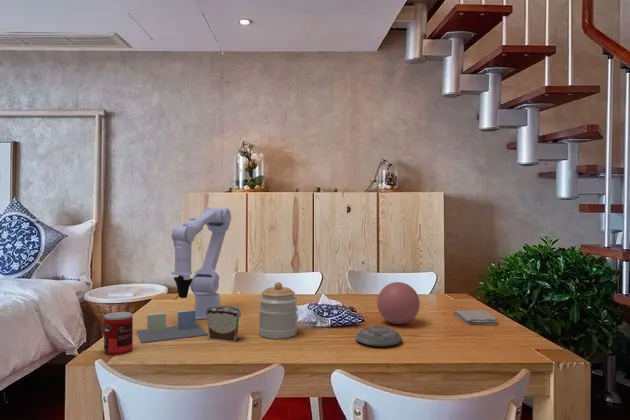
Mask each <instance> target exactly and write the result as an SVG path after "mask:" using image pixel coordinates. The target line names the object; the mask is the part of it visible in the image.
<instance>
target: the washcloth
mask: <svg viewBox="0 0 630 420" xmlns="http://www.w3.org/2000/svg"><path fill="white" fill-rule="evenodd" d="M453 314H454V315H455V316H456V317H457V318H458V319H460V320H461V321H462V322H463V323H465V324H466V325H468V326H498V324H499V323H498V322H497V320H498V319H497V318H496V317H495V315H494V314H491V313H490V312H488V311H487V310H485V309H470V310H467V309H456V310H454V312H453Z"/></svg>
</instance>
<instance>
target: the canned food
mask: <svg viewBox="0 0 630 420" xmlns="http://www.w3.org/2000/svg"><path fill="white" fill-rule="evenodd" d="M133 318H134V317H133V313H132V312H128V311H116V312H110V313H106V314H104V315H103V351H104V353H105V354H106V355H108V356H120V355H125V354H128V353H131V352H132V351H133V345H134V344H133V342H134V341H133V338H134V337H133V327H134V326H133V323H134V322H133V321H134V320H133Z"/></svg>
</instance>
